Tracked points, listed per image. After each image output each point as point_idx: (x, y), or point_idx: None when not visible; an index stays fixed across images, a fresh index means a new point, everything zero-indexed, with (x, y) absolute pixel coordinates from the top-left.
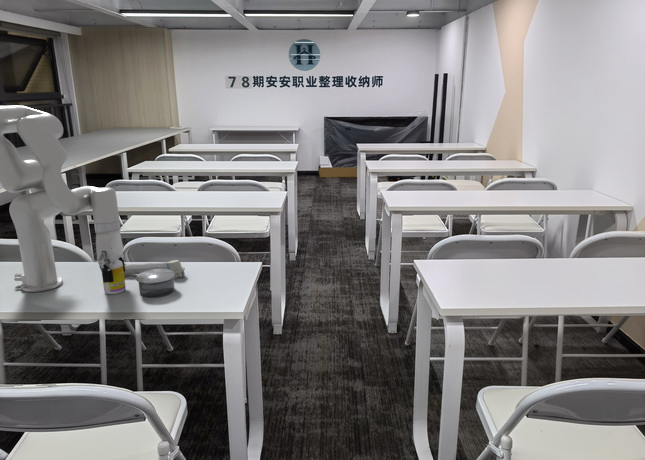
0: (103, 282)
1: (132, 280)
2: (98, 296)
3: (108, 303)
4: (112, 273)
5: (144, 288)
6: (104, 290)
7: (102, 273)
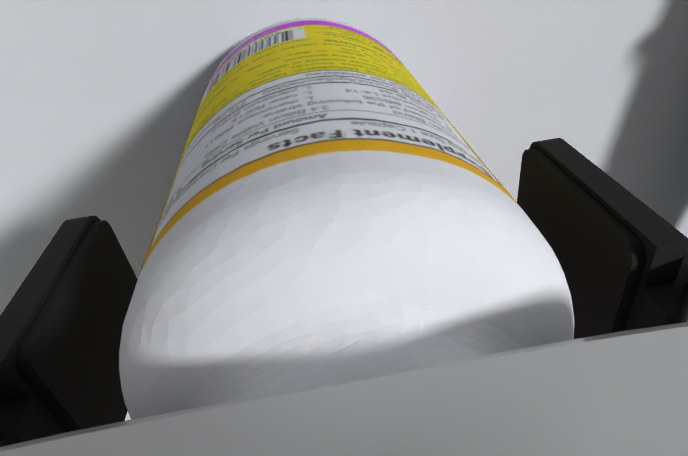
0: (208, 101)
1: (598, 137)
2: (124, 24)
3: (23, 227)
4: (113, 422)
5: None
6: (222, 61)
7: (4, 328)
